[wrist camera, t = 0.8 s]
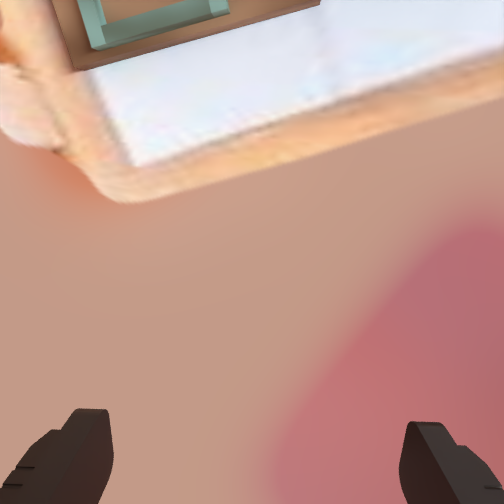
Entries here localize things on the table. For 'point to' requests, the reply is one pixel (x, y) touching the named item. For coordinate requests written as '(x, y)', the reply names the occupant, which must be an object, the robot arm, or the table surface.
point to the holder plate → (154, 24)
